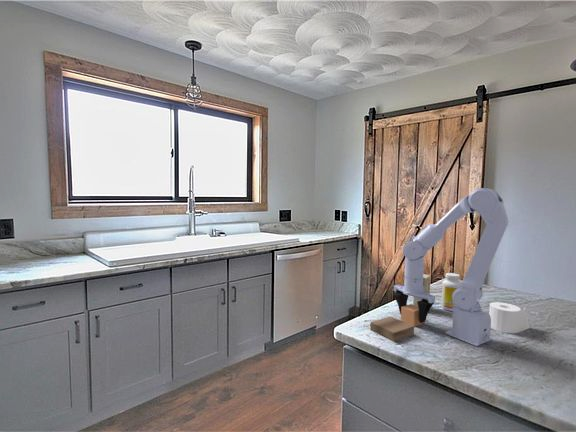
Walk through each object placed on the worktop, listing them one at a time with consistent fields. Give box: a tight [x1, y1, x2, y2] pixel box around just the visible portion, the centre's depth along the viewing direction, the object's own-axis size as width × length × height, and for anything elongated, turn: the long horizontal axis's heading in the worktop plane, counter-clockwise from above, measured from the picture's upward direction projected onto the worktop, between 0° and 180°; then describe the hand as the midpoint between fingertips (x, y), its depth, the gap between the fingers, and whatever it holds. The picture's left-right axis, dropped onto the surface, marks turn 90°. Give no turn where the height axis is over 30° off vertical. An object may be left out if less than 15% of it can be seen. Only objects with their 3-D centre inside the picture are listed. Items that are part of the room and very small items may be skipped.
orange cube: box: [400, 303, 425, 327], centre depth 107 cm, size 5×5×5 cm
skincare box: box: [412, 273, 431, 306], centre depth 120 cm, size 6×4×12 cm
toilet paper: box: [488, 301, 530, 334], centre depth 104 cm, size 8×11×7 cm
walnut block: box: [369, 315, 415, 342], centre depth 99 cm, size 9×9×3 cm
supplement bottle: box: [440, 272, 462, 312], centre depth 119 cm, size 7×7×13 cm
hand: (412, 317), depth 107 cm, fingers open, 7 cm apart
